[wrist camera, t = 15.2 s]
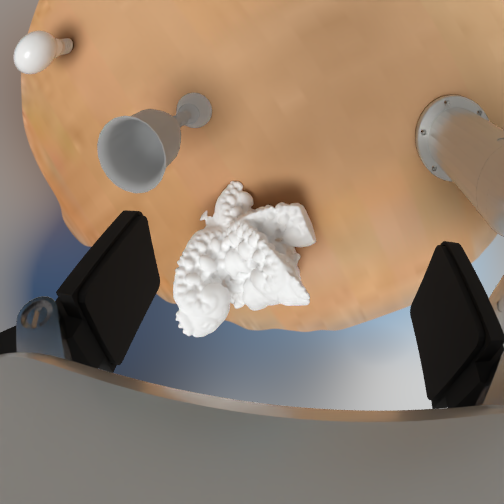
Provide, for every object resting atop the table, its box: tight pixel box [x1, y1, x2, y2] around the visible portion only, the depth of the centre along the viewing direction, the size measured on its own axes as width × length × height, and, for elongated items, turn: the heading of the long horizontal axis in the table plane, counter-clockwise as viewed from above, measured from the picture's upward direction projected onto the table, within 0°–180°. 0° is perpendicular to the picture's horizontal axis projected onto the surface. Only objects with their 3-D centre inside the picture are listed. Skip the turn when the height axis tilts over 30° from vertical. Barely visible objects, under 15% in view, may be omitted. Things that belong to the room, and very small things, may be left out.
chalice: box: [97, 93, 212, 193], centre depth 32 cm, size 7×7×18 cm
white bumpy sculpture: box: [173, 181, 316, 337], centre depth 46 cm, size 19×20×20 cm
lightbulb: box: [14, 31, 73, 74], centre depth 29 cm, size 6×6×11 cm
